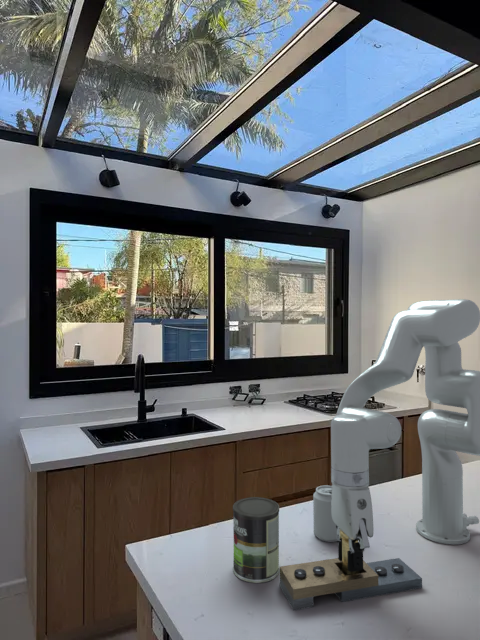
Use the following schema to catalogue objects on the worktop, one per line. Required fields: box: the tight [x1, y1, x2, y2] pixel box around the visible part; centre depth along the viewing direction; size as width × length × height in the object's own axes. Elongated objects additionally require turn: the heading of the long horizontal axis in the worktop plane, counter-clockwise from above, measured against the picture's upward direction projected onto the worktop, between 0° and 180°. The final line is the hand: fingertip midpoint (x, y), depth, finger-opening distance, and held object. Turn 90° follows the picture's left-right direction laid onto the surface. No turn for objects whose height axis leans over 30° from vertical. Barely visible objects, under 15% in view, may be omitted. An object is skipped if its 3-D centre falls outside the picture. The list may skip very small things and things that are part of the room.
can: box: [312, 484, 339, 543], centre depth 113 cm, size 8×8×12 cm
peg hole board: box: [279, 557, 423, 611], centre depth 91 cm, size 28×8×5 cm, turn 104°
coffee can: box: [232, 496, 280, 584], centre depth 98 cm, size 10×10×14 cm
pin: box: [340, 529, 359, 576], centre depth 91 cm, size 4×4×10 cm
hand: (350, 564), depth 91 cm, fingers closed on pin, 3 cm apart
